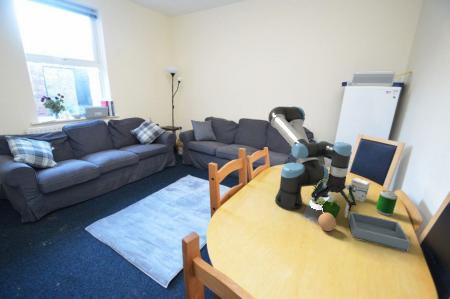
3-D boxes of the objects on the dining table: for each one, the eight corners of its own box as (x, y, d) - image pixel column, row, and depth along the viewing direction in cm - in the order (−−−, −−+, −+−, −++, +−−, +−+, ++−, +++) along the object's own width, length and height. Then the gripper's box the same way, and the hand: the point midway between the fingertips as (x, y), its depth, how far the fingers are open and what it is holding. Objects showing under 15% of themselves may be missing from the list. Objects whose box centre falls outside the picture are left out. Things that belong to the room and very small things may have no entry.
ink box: (347, 196, 130) (351, 179, 126) (350, 194, 133) (354, 177, 129) (363, 202, 123) (367, 184, 120) (366, 199, 126) (370, 182, 123)
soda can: (395, 217, 109) (401, 197, 106) (379, 215, 111) (385, 195, 107) (387, 209, 116) (393, 190, 113) (372, 208, 118) (377, 188, 114)
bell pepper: (320, 220, 105) (323, 202, 102) (319, 211, 113) (322, 195, 110) (338, 224, 102) (342, 206, 99) (337, 215, 110) (340, 198, 107)
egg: (336, 235, 94) (339, 219, 92) (319, 233, 96) (322, 217, 93) (331, 225, 101) (334, 210, 99) (315, 223, 102) (318, 208, 100)
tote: (352, 237, 93) (355, 228, 92) (348, 219, 106) (350, 211, 105) (407, 251, 86) (410, 242, 85) (395, 230, 99) (398, 222, 97)
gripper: (309, 172, 102) (304, 210, 108) (369, 182, 92) (360, 223, 98) (310, 167, 108) (304, 203, 114) (366, 176, 99) (357, 215, 105)
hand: (330, 212), depth 106 cm, fingers open, 13 cm apart
